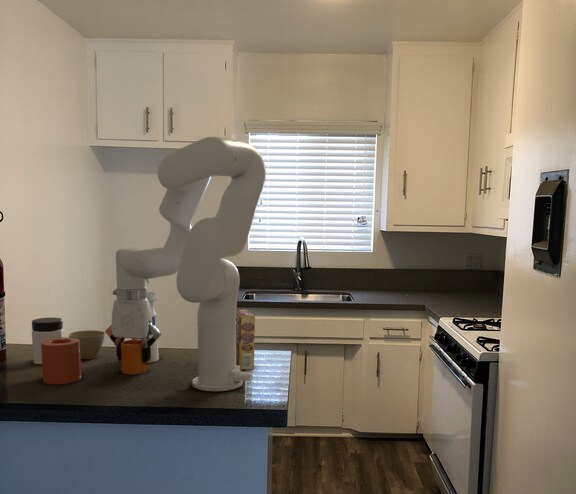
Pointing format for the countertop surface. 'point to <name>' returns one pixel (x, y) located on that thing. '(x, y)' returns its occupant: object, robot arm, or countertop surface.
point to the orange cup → (132, 357)
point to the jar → (44, 334)
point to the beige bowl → (89, 342)
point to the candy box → (245, 339)
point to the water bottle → (154, 347)
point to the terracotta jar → (61, 360)
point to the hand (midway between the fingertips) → (133, 360)
